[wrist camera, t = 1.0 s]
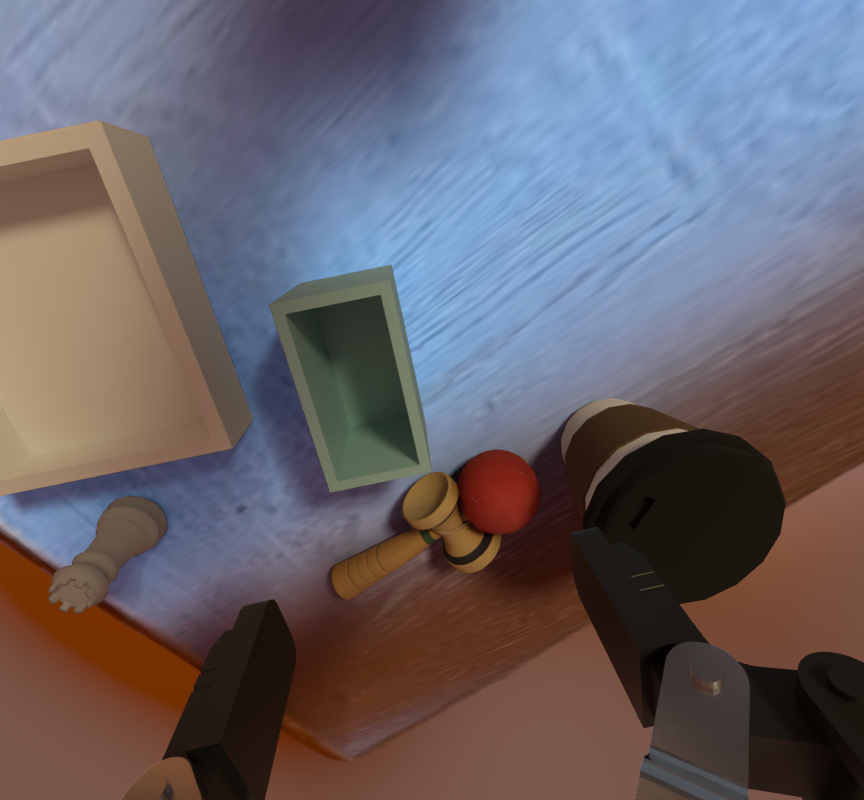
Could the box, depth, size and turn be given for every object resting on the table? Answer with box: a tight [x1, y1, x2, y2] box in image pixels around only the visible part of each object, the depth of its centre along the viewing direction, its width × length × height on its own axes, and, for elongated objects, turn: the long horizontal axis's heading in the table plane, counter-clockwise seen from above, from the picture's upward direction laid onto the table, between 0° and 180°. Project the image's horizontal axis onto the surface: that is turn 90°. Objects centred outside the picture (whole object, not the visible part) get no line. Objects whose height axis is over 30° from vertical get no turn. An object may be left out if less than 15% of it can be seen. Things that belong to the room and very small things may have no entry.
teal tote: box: [269, 265, 432, 493], centre depth 28 cm, size 11×6×8 cm, turn 11°
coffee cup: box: [561, 398, 786, 604], centre depth 30 cm, size 11×11×12 cm
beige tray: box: [0, 120, 253, 496], centre depth 27 cm, size 18×16×4 cm
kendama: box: [331, 450, 541, 600], centre depth 35 cm, size 8×6×18 cm
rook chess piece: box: [48, 496, 167, 614], centre depth 31 cm, size 4×4×8 cm
